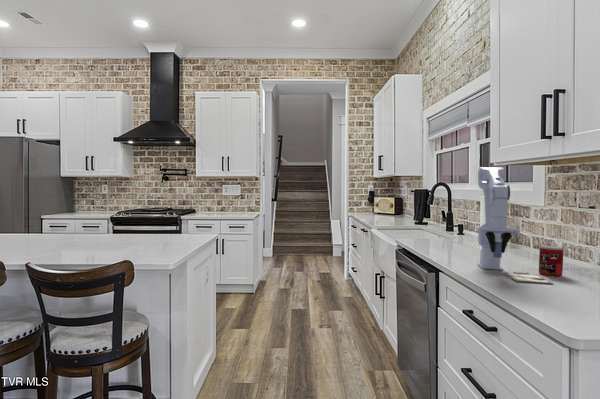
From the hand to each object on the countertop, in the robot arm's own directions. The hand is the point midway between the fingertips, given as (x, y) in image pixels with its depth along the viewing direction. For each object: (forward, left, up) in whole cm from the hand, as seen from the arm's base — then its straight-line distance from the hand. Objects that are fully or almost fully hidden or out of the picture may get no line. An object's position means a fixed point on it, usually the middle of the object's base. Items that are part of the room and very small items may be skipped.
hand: (497, 252), depth 151 cm
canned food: (-8, +22, -9) cm, 25 cm away
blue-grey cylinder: (0, 0, -2) cm, 2 cm away
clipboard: (+3, +10, -9) cm, 14 cm away
